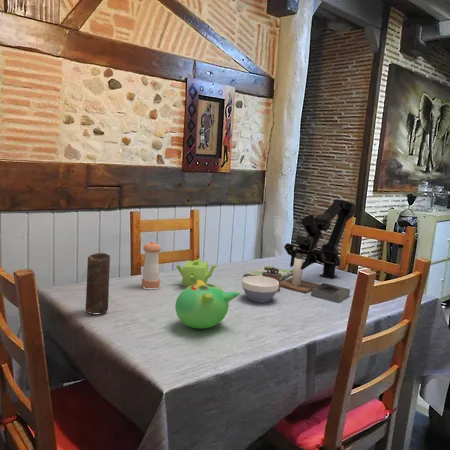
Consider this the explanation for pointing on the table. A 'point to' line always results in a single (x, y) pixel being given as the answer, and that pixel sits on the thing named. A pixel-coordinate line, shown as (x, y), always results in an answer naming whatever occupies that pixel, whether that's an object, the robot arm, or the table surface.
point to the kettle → (195, 272)
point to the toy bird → (203, 305)
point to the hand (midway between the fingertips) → (296, 267)
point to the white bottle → (297, 270)
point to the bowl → (260, 288)
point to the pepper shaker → (151, 266)
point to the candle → (97, 283)
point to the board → (303, 288)
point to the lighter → (272, 274)
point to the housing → (330, 292)
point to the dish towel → (258, 272)
